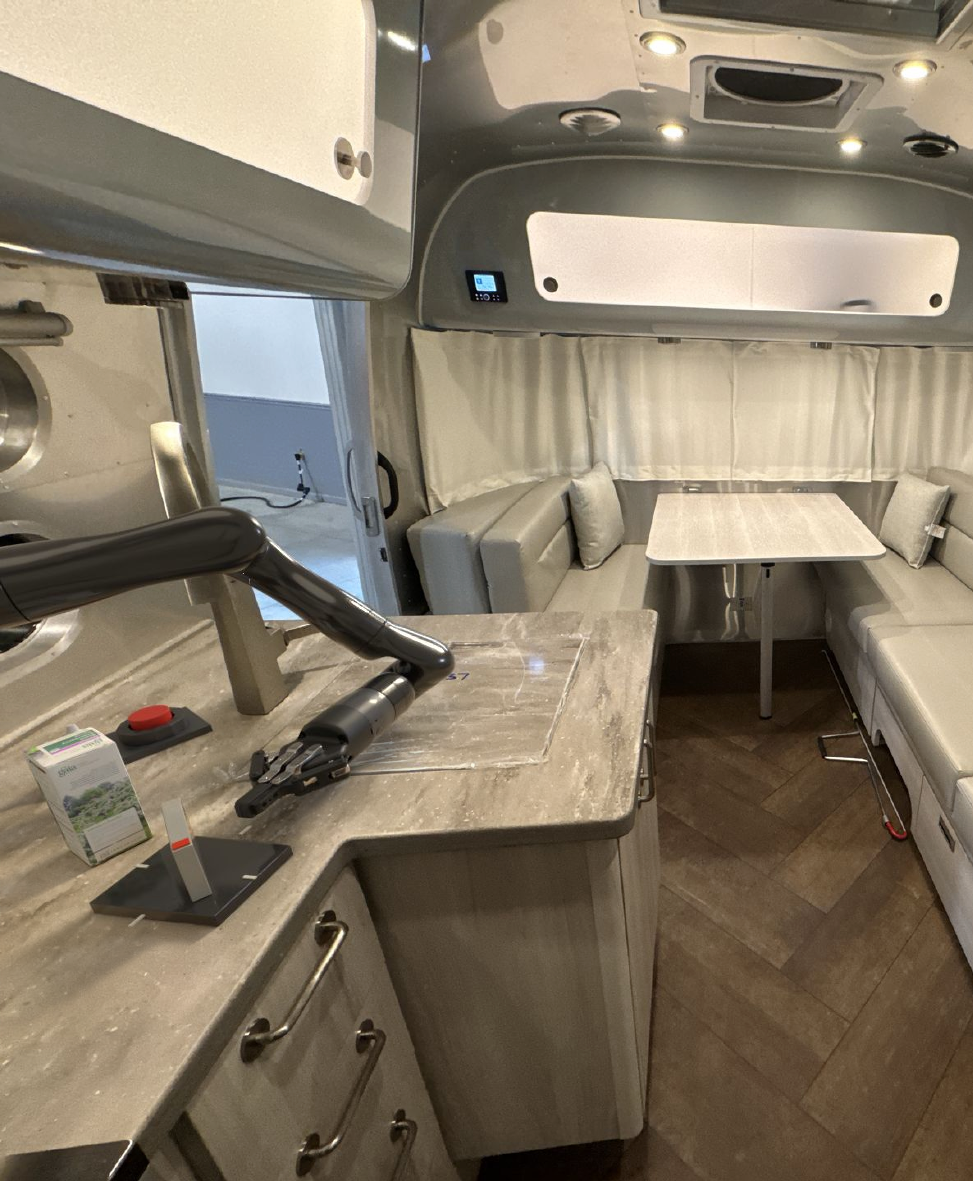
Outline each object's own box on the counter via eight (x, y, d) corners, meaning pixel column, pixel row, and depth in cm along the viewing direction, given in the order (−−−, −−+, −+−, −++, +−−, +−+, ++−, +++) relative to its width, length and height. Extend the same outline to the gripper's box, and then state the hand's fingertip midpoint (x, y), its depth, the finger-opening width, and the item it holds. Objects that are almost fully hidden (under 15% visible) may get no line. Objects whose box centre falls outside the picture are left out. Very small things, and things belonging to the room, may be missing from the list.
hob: (70, 930, 65) (64, 918, 64) (199, 830, 78) (195, 820, 78) (200, 944, 64) (195, 933, 64) (308, 841, 78) (305, 831, 77)
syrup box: (132, 820, 79) (90, 723, 74) (156, 837, 77) (114, 738, 71) (69, 850, 74) (18, 749, 69) (92, 869, 72) (42, 766, 67)
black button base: (124, 765, 88) (117, 748, 87) (101, 743, 92) (93, 726, 91) (213, 731, 96) (207, 714, 95) (187, 712, 100) (181, 696, 99)
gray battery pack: (179, 851, 73) (159, 801, 70) (198, 844, 74) (178, 795, 72) (192, 902, 67) (171, 850, 64) (212, 893, 68) (191, 842, 65)
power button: (138, 735, 91) (134, 724, 90) (126, 724, 93) (122, 714, 92) (177, 720, 94) (174, 710, 94) (165, 711, 96) (161, 701, 96)
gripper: (298, 699, 87) (177, 781, 71) (389, 707, 87) (288, 791, 71) (311, 744, 90) (197, 832, 74) (400, 752, 90) (304, 843, 74)
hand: (242, 812), depth 73 cm, fingers closed
